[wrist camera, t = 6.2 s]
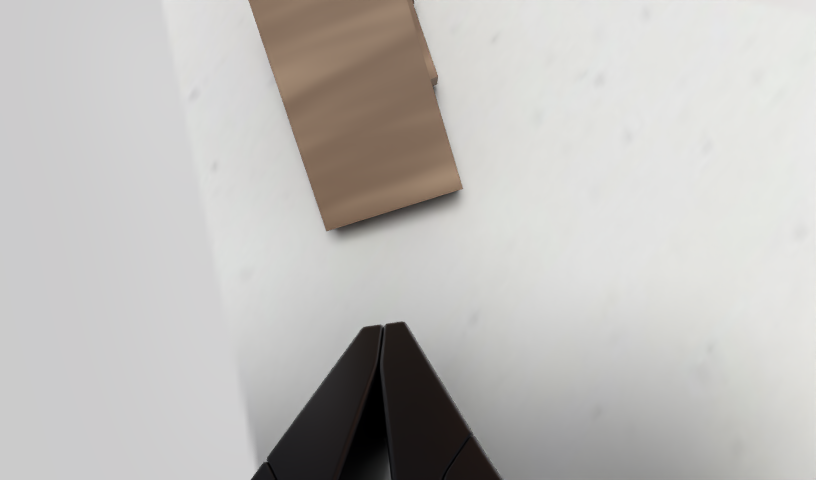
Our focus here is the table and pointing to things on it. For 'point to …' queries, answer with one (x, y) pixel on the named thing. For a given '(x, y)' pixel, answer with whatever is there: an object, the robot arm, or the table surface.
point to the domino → (358, 104)
